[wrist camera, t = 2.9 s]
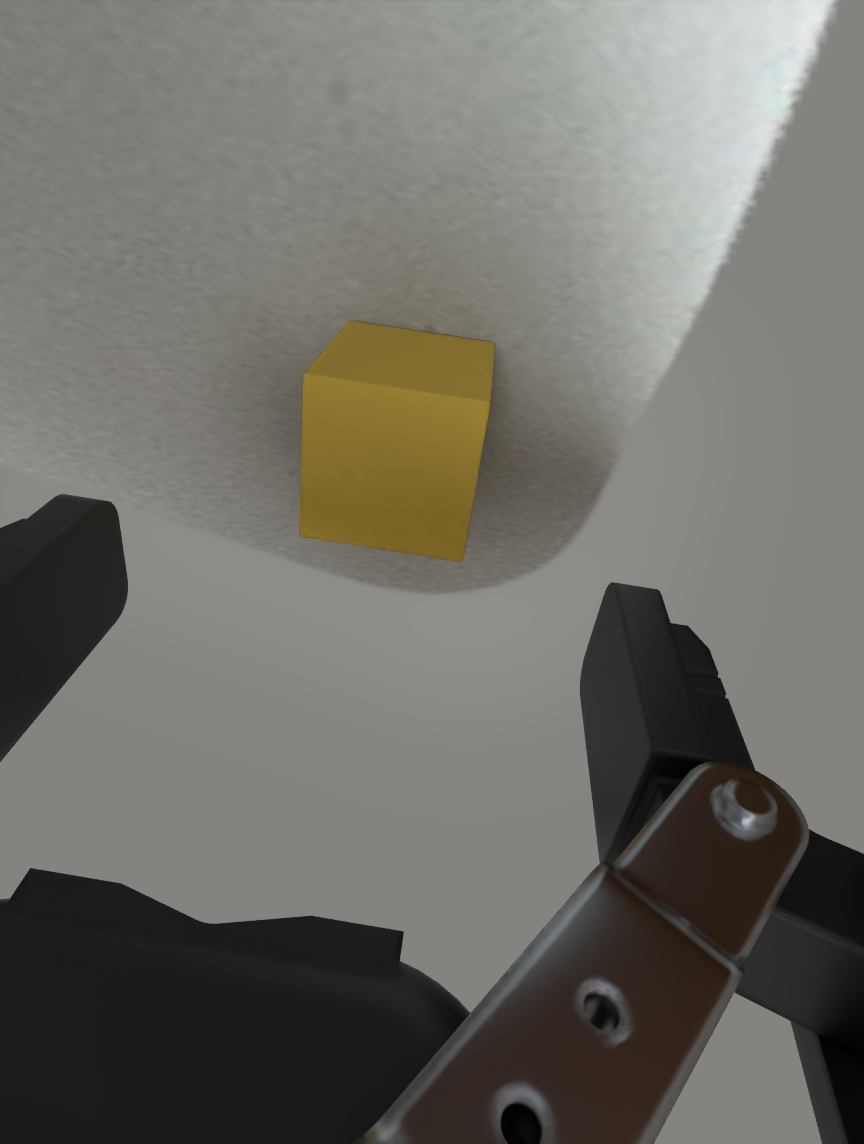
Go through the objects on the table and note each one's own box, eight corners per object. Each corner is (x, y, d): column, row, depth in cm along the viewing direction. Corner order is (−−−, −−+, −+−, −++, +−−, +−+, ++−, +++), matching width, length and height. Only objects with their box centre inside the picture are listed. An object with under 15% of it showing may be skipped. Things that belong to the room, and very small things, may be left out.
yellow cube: (341, 456, 21) (298, 537, 17) (349, 319, 19) (302, 373, 14) (472, 476, 21) (462, 562, 16) (495, 342, 19) (491, 402, 14)
